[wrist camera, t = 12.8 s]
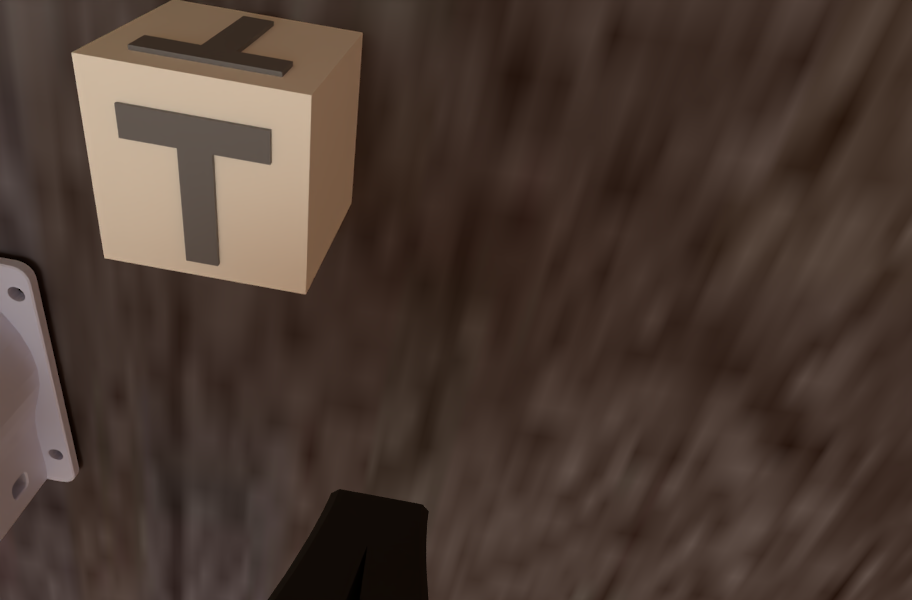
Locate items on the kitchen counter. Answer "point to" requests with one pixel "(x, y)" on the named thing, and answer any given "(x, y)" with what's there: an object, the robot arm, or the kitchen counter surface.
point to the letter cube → (221, 141)
